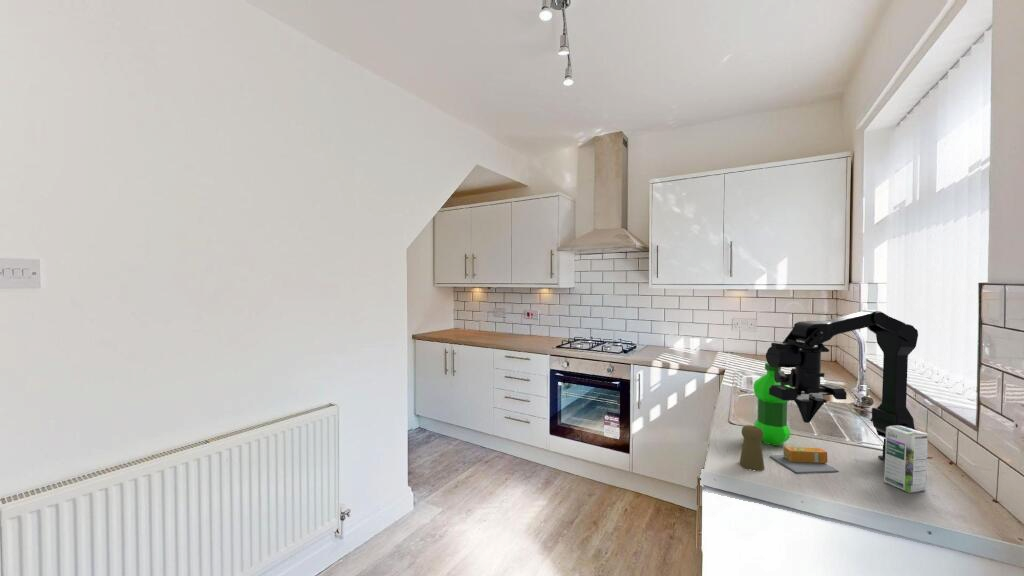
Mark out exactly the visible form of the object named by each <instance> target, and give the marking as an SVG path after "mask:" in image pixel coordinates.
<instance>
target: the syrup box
mask: <svg viewBox="0 0 1024 576" xmlns="http://www.w3.org/2000/svg"><path fill="white" fill-rule="evenodd" d="M885 439H886V445H885V461H884V475H883V476H884V477H883V482H884V483H885V484H888V485H891V486H892V487H895V488H898V489H900V490H903V491H904V492H907V493H908V494H912V493H919V492H923V491H927V465H928V441H929V440H928V439H929V434H928V433H927V432H923V431H919V430H917V429H915V430H914V429H910V428H907V427H904V426H897V425H896V426H889V427H886V438H885Z"/></svg>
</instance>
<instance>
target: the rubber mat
mask: <svg viewBox="0 0 1024 576" xmlns="http://www.w3.org/2000/svg"><path fill="white" fill-rule="evenodd" d="M769 457H770V459H773V460H774V461H776V462H777V463H779V464H781V465H783V466H784V467H786V468H787V469H789V470H790V471H792V472H793V473H794V474H814V473H815V474H818V473H839V470H838V469H836V468H834V467H833V466H831V465H829V464H827V463H811V462H791V461H789V460H788V459H787V458H785V457H784V455H783V454H771V455H769Z"/></svg>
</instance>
